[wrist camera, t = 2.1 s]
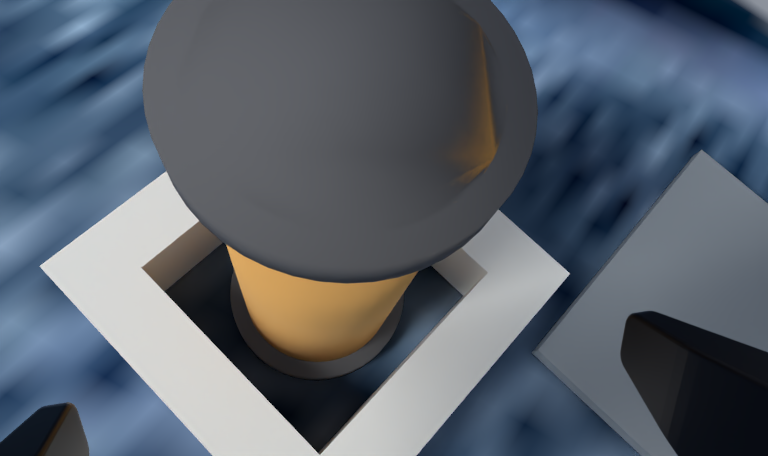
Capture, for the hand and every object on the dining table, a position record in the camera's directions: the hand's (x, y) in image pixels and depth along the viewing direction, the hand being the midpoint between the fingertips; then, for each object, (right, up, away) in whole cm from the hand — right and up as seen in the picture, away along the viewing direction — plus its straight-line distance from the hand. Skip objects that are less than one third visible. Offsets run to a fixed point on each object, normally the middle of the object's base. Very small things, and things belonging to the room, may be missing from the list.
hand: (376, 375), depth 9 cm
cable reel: (-2, 0, +12) cm, 12 cm away
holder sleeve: (-2, 0, +12) cm, 12 cm away
